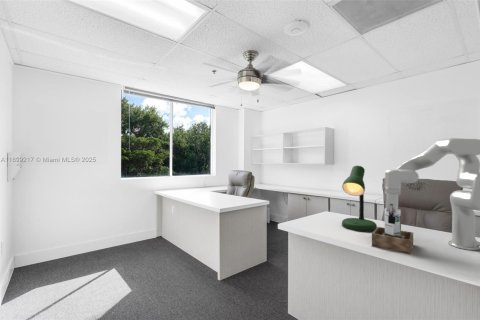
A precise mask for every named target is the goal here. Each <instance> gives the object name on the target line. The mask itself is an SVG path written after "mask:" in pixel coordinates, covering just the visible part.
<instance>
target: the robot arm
mask: <svg viewBox="0 0 480 320" xmlns="http://www.w3.org/2000/svg"><path fill="white" fill-rule="evenodd" d="M446 155H454V156H455V157H456V159H457V160H458V171H457V174H456V175H457V176H456V185H457V186H459V187H460V188H463V189H468V190H462V189H459V190H454V191H452V193H450V195H449V201H450V206H451V218H452V219H451V229H452V230H451V237H452V239H451V240H449V241H448V245H450V246H451V247H454V248H457V249H462V250H468V251H479V250H480V241H477V239H476V213H475V211H478V212H479V211H480V159H479V158H478V156H479V155H480V139H478V138H455V137H453V138H444V139H438V140H436V141H435V142H434V143H432V144H431V145H430V146H429V147H428V148H426V149H425V150H424V151H422V152H421V153H420V154H418V155H417V156H414V157H413V158H411V159H408V160H407V161H405V162H403V163H402V164H401V165H400V166H398V167H397V168H395V169H387V170H385V173H384V185H385V186H384V194H386V201H385V204H386V205H385V208H386V211H388V210H389V216H388V223H391V224H395V212H396V211H397V209H399V196H400V195H401V191H402V183H406V184H413V183H416V182H417V181H418V180H419V179H420V178H419V177H420V176H419V174H418V172H417V171H418V170H421V169H426V168H429V167H433V166H434V165H435V164H436V163H438V162H439V161H440V160H442V159H443V158H444V157H446ZM470 190H471V191H470ZM392 210H394V211H392Z"/></svg>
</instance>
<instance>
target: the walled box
mask: <svg viewBox="0 0 480 320" xmlns="http://www.w3.org/2000/svg"><path fill="white" fill-rule="evenodd" d="M371 247H374V248H379V249H384V250H389V251H394V252H399V253H403V254H404V253H405V254H407V255H408V254H409V255H412V251H413V248H414V232H412V231H406V230H401V235H394V236H393V235H389V234H387V233H385V227H381V226H377V228H376V229H375V230H374V231H373V232H371Z"/></svg>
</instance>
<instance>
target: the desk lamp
mask: <svg viewBox="0 0 480 320" xmlns="http://www.w3.org/2000/svg"><path fill="white" fill-rule="evenodd" d="M365 171H366V170H365V168H364V167H363V166H362V165H354V166H353V167H352V169H351V171H350V174H349V176H348V177H347V178H346V179H345V180H344V181H343V183H342V185H341V189H342V190H343V192H344V193H346V194H347V195H350V196H356V197H357V196H358V197H359V207H358V209H359V211H358V212H359V213H358V215H359V216H358V217H347V218H344V219H342V221H341V227H343V229H346V230H350V231H356V232H361V233H364V232H365V233H373V232H374V230H375V229H376V228H377V227H378V225H377V223H376V222H374V221H373V220H370V219H366V218H365V213H364V212H365V211H364V210H365V208H364V207H365V203H364V202H365V199H364V198H365V195H364V194H365V191H366V186H365V185H366V184H365V181H364V175H365Z"/></svg>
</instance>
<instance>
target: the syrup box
mask: <svg viewBox="0 0 480 320" xmlns="http://www.w3.org/2000/svg"><path fill="white" fill-rule="evenodd" d="M392 211H394V210H392ZM401 213H402V211H401V209H399V208H398V209H397V211H396V212H395V224H391V223H388V216H389V210H388V211H386V207H385V208H384V213H383V214H384V228H385V233H387V234H389V235H393V236H394V235H401V231H402V218H401V217H402V215H401Z"/></svg>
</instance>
